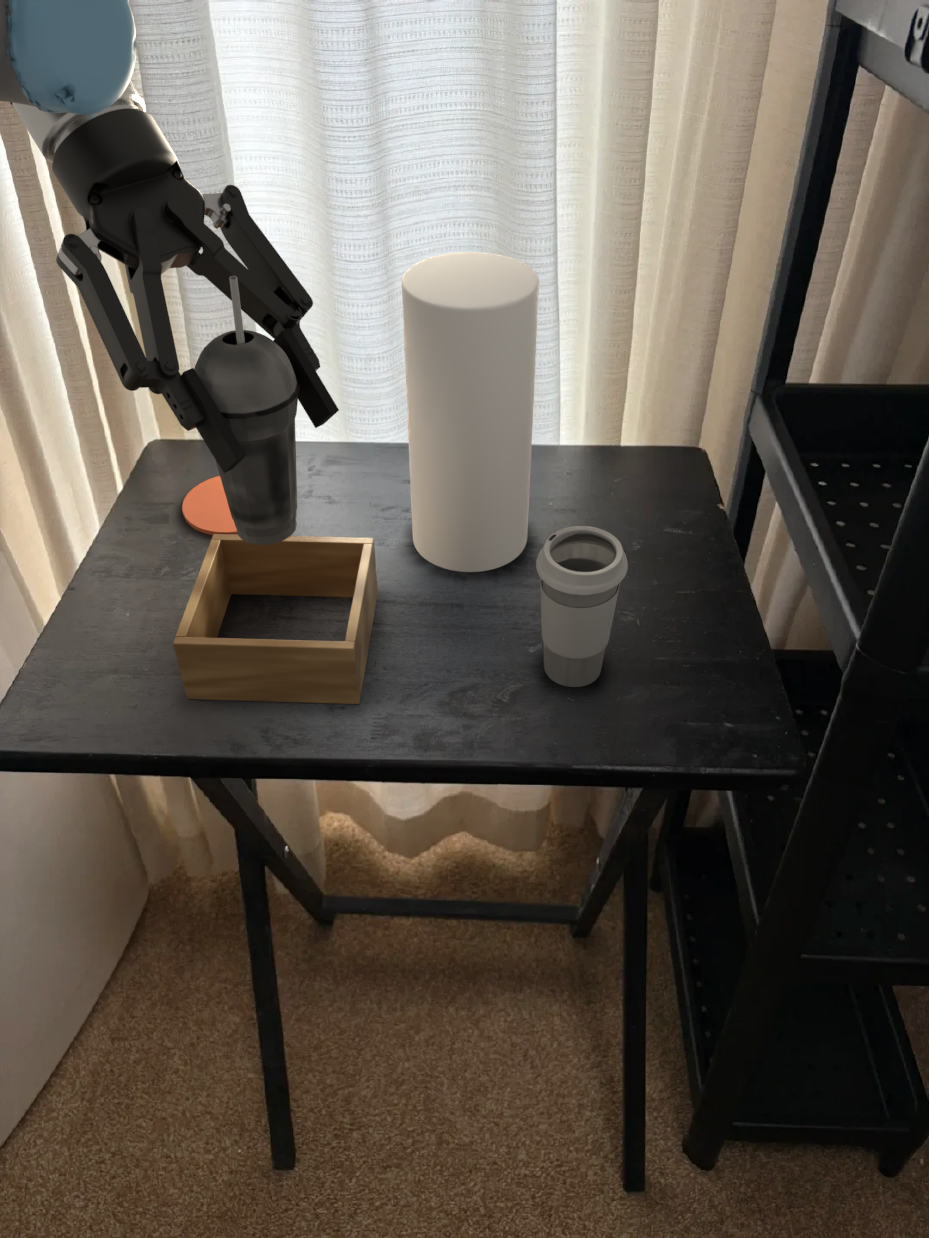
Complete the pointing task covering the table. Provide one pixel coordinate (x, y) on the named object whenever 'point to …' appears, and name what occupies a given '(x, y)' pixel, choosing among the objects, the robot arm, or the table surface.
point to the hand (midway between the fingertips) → (282, 440)
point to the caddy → (267, 662)
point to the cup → (578, 601)
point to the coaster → (209, 508)
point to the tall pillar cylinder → (470, 406)
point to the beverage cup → (255, 427)
